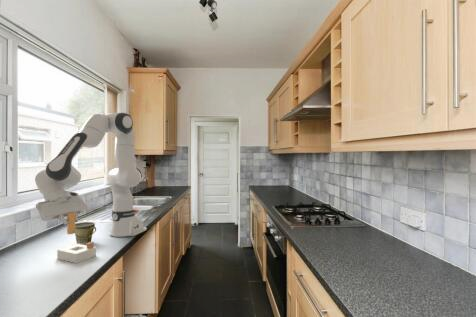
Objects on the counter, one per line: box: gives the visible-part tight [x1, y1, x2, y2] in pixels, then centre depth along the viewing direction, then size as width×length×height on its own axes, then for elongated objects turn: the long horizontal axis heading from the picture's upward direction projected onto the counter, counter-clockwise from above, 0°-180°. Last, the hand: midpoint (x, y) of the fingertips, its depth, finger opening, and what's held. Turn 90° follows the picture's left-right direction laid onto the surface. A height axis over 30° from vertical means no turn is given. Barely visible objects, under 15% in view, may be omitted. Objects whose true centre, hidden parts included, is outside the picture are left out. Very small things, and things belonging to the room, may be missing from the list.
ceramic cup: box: [74, 221, 97, 245], centre depth 146 cm, size 13×10×10 cm
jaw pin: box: [66, 213, 76, 235], centre depth 126 cm, size 3×3×9 cm
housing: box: [56, 241, 97, 264], centre depth 126 cm, size 10×12×6 cm
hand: (72, 222), depth 126 cm, fingers closed on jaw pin, 3 cm apart
